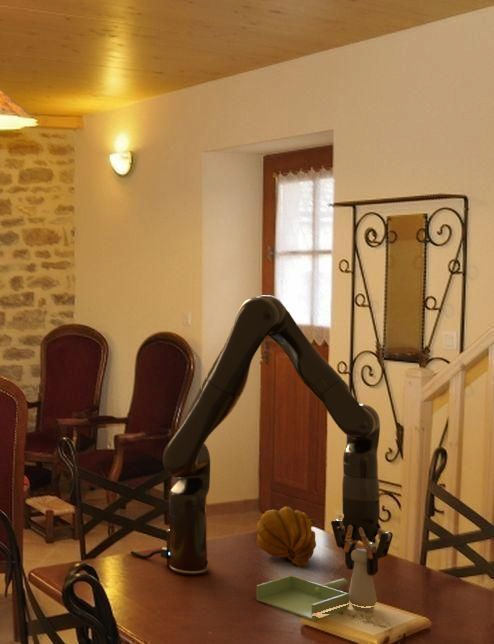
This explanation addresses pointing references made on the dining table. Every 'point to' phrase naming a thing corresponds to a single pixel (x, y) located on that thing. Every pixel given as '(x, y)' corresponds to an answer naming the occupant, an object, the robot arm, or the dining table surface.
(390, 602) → the dining table surface
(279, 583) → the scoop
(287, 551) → the pumpkin
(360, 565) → the salt shaker
